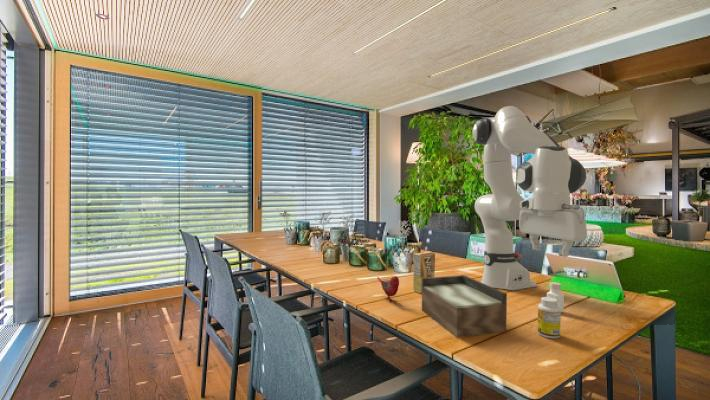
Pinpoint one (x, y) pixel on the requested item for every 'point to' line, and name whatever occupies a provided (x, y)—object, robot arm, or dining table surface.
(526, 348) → the dining table surface
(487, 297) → the open wooden crate
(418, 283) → the candy box
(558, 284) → the white bottle
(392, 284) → the decorative bird figurine
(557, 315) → the supplement bottle
